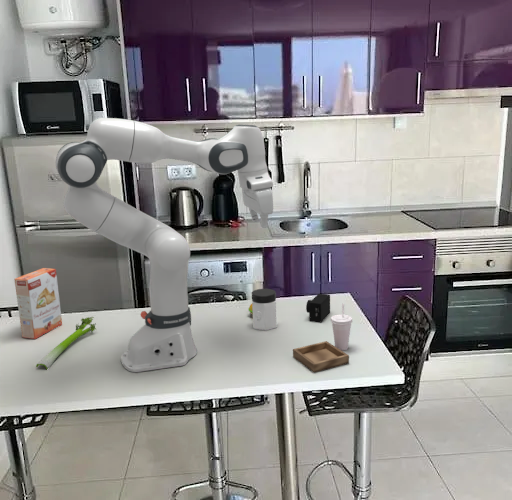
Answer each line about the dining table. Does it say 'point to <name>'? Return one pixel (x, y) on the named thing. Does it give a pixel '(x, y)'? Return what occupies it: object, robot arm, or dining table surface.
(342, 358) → the tray
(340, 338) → the smoothie
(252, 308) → the toy pineapple
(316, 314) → the digital camera
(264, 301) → the jar
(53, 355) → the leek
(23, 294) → the cracker box
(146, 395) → the dining table surface
